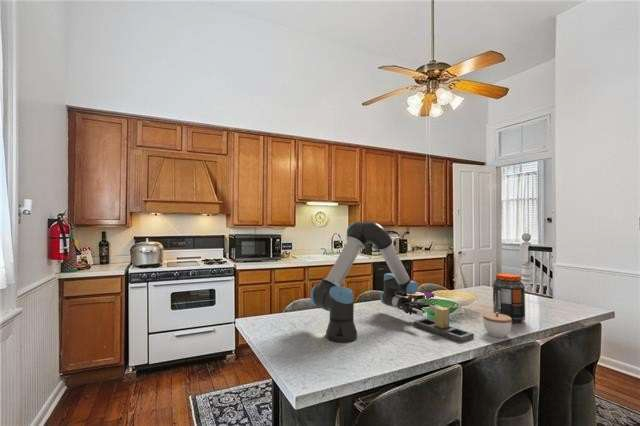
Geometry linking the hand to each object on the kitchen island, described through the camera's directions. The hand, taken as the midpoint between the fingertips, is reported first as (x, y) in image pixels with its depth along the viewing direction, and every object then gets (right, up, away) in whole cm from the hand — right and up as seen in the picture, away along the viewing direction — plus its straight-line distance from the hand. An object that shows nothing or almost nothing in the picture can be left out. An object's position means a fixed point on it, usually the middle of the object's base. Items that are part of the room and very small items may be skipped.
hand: (431, 311), depth 168 cm
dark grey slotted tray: (+4, -8, -6) cm, 11 cm away
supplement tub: (+50, -9, +15) cm, 53 cm away
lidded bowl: (+30, -9, -10) cm, 32 cm away
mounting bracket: (+7, -10, +40) cm, 42 cm away
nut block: (+3, -8, -6) cm, 11 cm away
